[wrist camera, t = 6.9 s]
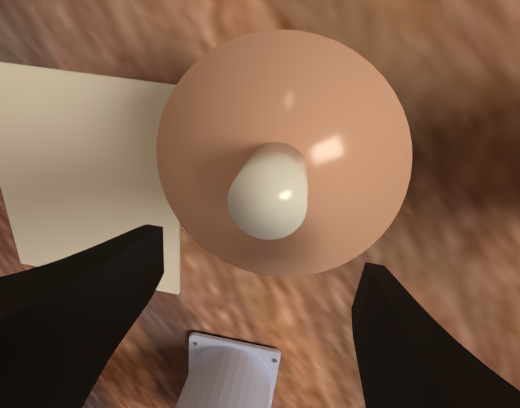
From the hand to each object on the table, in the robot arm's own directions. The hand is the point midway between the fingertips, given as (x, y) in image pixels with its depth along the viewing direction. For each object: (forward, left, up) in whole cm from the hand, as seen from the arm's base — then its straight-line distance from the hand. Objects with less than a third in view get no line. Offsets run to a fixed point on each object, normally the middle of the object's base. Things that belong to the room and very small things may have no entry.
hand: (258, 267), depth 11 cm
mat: (-3, +14, -10) cm, 18 cm away
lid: (+3, 0, -3) cm, 4 cm away
